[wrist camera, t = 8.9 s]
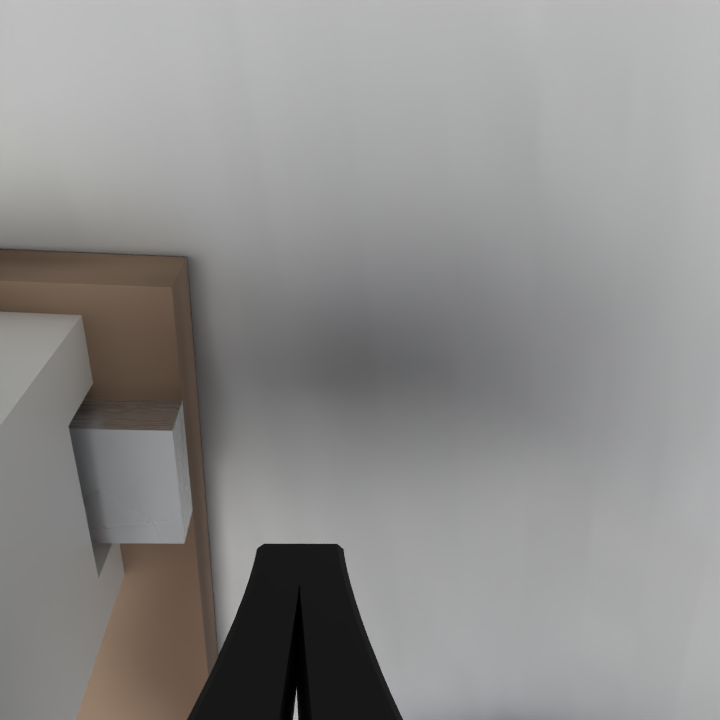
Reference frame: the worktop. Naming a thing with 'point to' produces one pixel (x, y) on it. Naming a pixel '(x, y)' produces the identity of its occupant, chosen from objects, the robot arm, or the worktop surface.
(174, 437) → the rail
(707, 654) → the worktop surface
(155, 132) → the worktop surface
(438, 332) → the worktop surface
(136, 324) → the board
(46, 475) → the block
